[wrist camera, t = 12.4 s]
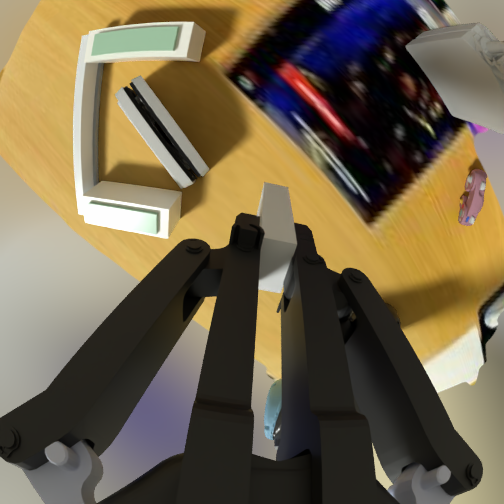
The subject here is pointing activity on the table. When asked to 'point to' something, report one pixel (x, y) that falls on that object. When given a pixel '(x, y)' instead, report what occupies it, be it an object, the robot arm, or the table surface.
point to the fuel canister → (465, 71)
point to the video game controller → (472, 197)
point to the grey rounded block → (144, 117)
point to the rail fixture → (87, 120)
